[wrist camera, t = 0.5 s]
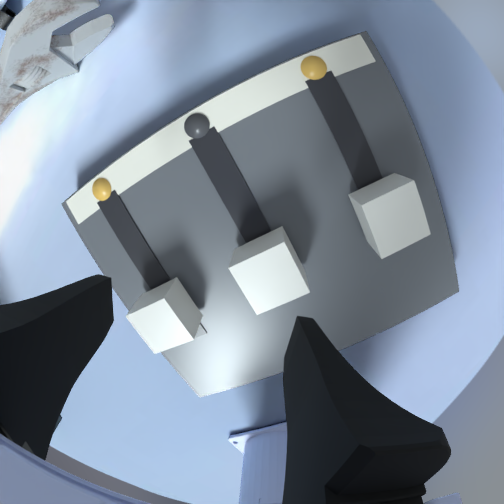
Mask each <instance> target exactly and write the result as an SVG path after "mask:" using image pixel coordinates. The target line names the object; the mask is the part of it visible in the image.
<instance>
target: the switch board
mask: <svg viewBox="0 0 504 504" xmlns="http://www.w3.org/2000/svg"><path fill="white" fill-rule="evenodd" d="M393 173H396V174H399V175H402V176H404V177H407V178H410V179H412V180H414V181H415V184H416V187H417V190H418V193H419V196H420V199H421V202H422V205H423V209H424V212H425V215H426V219H427V222H428V226H429V230H430V233H431V234H430V235H428V236H427V237H425V238H423V239H421V240H419V241H417V242H415V243H413V244H411V245H409V246H407V247H405V248H403V249H401V250H399V251H397V252H395V253H393V254H391V255H389V256H387V257H385V258H383V259H381V258H380V256H379V255H378V254H377V253H376V252H375V250H374V249H373V248H372V247H371V246H370V244H369V243H368V242H367V240H366V237H365V235H364V232H363V229H362V227H361V224H360V222H359V219H358V217H357V215H356V212H355V210H354V207H353V205H352V203H351V200H350V198H349V196H348V194H351V193H353V192H355V191H357V190H359V189H361V188H363V187H365V186H368V185H370V184H372V183H374V182H376V181H378V180H380V179H382V178H385V177H387V176H389V175H391V174H393ZM62 206H63V208H64V210H65V211H66V213H67V215H68V217H69V219H70V220H71V222H72V224H73V226H74V227H75V229H76V231H77V232H78V234H79V236H80V238H81V239H82V241H83V243H84V244H85V246H86V247H87V249H88V251H89V252H90V254H91V256H92V257H93V259H94V260H95V262H96V263H97V265H98V267H99V268H100V270H101V271H102V273H103V274H104V276H107V277H111V279H112V288H113V289H114V291H115V292H116V293H117V295H118V296H119V298H120V299H121V301H122V302H123V303H124V305H125V306H126V308H127V309H128V310H129V311H130V309H131V308H132V307H133V305H134V304H135V302H136V301H137V300H138V298H139V297H140V296H141V295H142V294H144V293H146V292H148V291H150V290H152V289H154V288H156V287H158V286H160V285H162V284H164V283H166V282H168V281H170V280H172V279H174V278H176V277H177V278H178V279H179V281H180V282H181V284H182V285H183V287H184V288H185V290H186V291H187V293H188V294H189V296H190V297H191V299H192V300H193V302H194V303H195V305H196V306H197V308H198V309H199V311H200V312H201V313H202V315H203V316H202V319H201V322H200V324H199V327H198V330H197V333H196V336H195V339H194V340H192V341H190V342H187V343H184V344H181V345H179V346H176V347H173V348H170V349H168V350H165V351H162V352H161V353H162V354H163V356H164V357H165V358H166V359H167V361H168V362H169V363H170V364H171V365H172V367H173V368H174V369H175V370H176V371H177V372H178V374H179V375H180V376H181V377H182V378H183V379H184V380H185V382H186V383H187V384H188V385H189V386H190V387H191V388H192V390H193V391H194V392H195V393H196V394H197V395H198V396H199V397H204V396H207V395H211V394H215V393H218V392H222V391H225V390H229V389H232V388H236V387H239V386H242V385H246V384H249V383H252V382H255V381H258V380H261V379H264V378H267V377H270V376H273V375H276V374H279V373H282V372H283V368H284V356H285V353H286V350H287V346H288V343H289V340H290V337H291V334H292V331H293V327H294V324H295V321H296V317H297V316H303V317H309V318H313V319H314V320H315V321H316V323H317V324H318V325H319V327H320V328H321V329H322V331H323V332H324V333H325V335H326V336H327V337H328V339H329V340H330V341H331V343H332V344H333V345H334V346H335V348H336V349H337V350H338V351H340V350H342V349H344V348H347V347H349V346H351V345H354V344H356V343H358V342H361V341H363V340H365V339H367V338H370V337H372V336H374V335H376V334H378V333H380V332H383V331H385V330H387V329H389V328H391V327H393V326H395V325H397V324H399V323H401V322H403V321H405V320H407V319H409V318H411V317H413V316H415V315H417V314H419V313H421V312H423V311H425V310H427V309H428V308H430V307H432V306H434V305H436V304H438V303H439V302H441V301H443V300H445V299H447V298H448V297H450V296H452V295H454V294H455V293H457V292H459V287H458V280H457V274H456V268H455V263H454V257H453V252H452V248H451V243H450V238H449V234H448V230H447V226H446V221H445V218H444V214H443V210H442V206H441V203H440V199H439V196H438V192H437V189H436V186H435V182H434V179H433V176H432V173H431V170H430V167H429V164H428V161H427V158H426V155H425V153H424V150H423V147H422V145H421V142H420V139H419V137H418V134H417V132H416V129H415V127H414V124H413V122H412V119H411V117H410V115H409V112H408V110H407V108H406V106H405V103H404V101H403V99H402V97H401V95H400V93H399V91H398V88H397V86H396V84H395V82H394V80H393V78H392V76H391V74H390V72H389V70H388V69H387V67H386V65H385V63H384V61H383V59H382V57H381V56H380V54H379V52H378V50H377V48H376V47H375V45H374V43H373V42H372V40H371V38H370V37H369V35H368V33H367V32H366V31H365V32H361V33H358V34H355V35H352V36H349V37H346V38H343V39H340V40H337V41H335V42H332V43H329V44H326V45H324V46H321V47H318V48H316V49H313V50H311V51H308V52H306V53H303V54H301V55H298V56H296V57H293V58H291V59H289V60H286V61H284V62H282V63H280V64H277V65H275V66H273V67H271V68H269V69H266V70H264V71H262V72H260V73H258V74H256V75H254V76H252V77H250V78H248V79H246V80H244V81H242V82H240V83H238V84H236V85H234V86H232V87H230V88H228V89H226V90H224V91H223V92H221V93H219V94H217V95H215V96H213V97H212V98H210V99H208V100H206V101H205V102H203V103H201V104H199V105H198V106H196V107H194V108H193V109H191V110H189V111H188V112H186V113H184V114H183V115H181V116H179V117H178V118H176V119H174V120H173V121H171V122H170V123H168V124H167V125H165V126H163V127H162V128H160V129H159V130H157V131H156V132H154V133H153V134H151V135H150V136H148V137H147V138H145V139H144V140H142V141H141V142H140V143H138V144H137V145H135V146H134V147H132V148H131V149H130V150H128V151H127V152H126V153H124V154H123V155H121V156H120V157H119V158H117V159H116V160H115V161H113V162H112V163H111V164H109V165H108V166H107V167H105V168H104V169H103V170H102V171H100V172H99V173H98V174H96V175H95V176H94V177H93V178H91V179H90V180H89V181H88V182H87V183H85V184H84V185H83V186H82V187H81V188H79V189H78V190H77V191H76V192H75V193H73V194H72V195H71V196H70V197H69V198H68V199H66V200H65V201H64V202H63V203H62ZM281 226H283V228H284V230H285V232H286V234H287V236H288V238H289V240H290V242H291V244H292V246H293V248H294V250H295V252H296V254H297V256H298V258H299V260H300V262H301V264H302V266H303V268H304V270H305V273H306V277H307V282H308V286H309V290H310V293H308V294H306V295H303V296H301V297H299V298H296V299H294V300H292V301H290V302H287V303H285V304H282V305H280V306H278V307H275V308H273V309H271V310H268V311H266V312H263V313H261V314H259V315H257V314H256V313H255V311H254V310H253V308H252V306H251V305H250V303H249V301H248V300H247V298H246V297H245V295H244V293H243V292H242V290H241V288H240V287H239V285H238V283H237V282H236V280H235V279H234V277H233V275H232V274H231V272H230V270H229V269H228V268H229V264H230V261H231V258H232V255H233V251H234V249H236V248H238V247H240V246H242V245H244V244H246V243H248V242H250V241H252V240H254V239H256V238H258V237H260V236H263V235H265V234H267V233H269V232H271V231H273V230H275V229H277V228H279V227H281Z"/></svg>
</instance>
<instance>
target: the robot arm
mask: <svg viewBox="0 0 504 504" xmlns="http://www.w3.org/2000/svg"><path fill="white" fill-rule="evenodd" d="M113 321H114V317H113V301H112V279H111V277H107V276H103V275H99V274H98V275H94V276H91V277H88V278H85V279H82V280H80V281H77V282H75V283H72V284H69V285H67V286H64V287H62V288H59V289H57V290H54V291H51V292H48V293H45V294H42V295H40V296H37V297H34V298H30V299H27V300H23V301H19V302H15V303H11V304H5V305H0V504H151V503H148V502H144V501H141V500H138V499H135V498H131V497H128V496H125V495H122V494H119V493H117V492H114V491H111V490H108V489H106V488H103V487H101V486H98V485H96V484H93V483H91V482H88V481H86V480H84V479H82V478H79V477H77V476H75V475H73V474H70V473H68V472H66V471H64V470H62V469H60V468H58V467H56V466H54V465H52V464H50V463H48V462H46V461H45V459H46V455H47V452H48V447H49V444H50V441H51V438H52V435H53V432H54V429H55V426H56V423H57V421H58V418H59V416H60V413H61V411H62V409H63V406H64V404H65V402H66V400H67V397H68V395H69V393H70V391H71V389H72V387H73V385H74V384H75V382H76V380H77V378H78V377H79V375H80V374H81V372H82V371H83V370H84V368H85V367H86V365H87V364H88V362H89V361H90V359H91V358H92V357H93V355H94V354H95V352H96V351H97V349H98V348H99V346H100V345H101V344H102V342H103V341H104V339H105V337H106V335H107V333H108V331H109V329H110V327H111V325H112V323H113ZM283 386H284V398H285V409H286V421H287V422H283V423H280V424H276V425H273V426H269V427H265V428H261V429H257V430H253V431H249V432H244V433H240V434H235V435H231V436H229V438H228V440H229V441H230V442H231V443H232V444H233V445H234V446H235V447H236V448H237V449H238V450H239V451H241V452H242V453H243V454H244V457H243V467H242V477H241V487H240V497H239V504H423V501H422V497H421V496H423V495H424V494H426V489H425V485H424V483H425V482H426V481H428V480H429V479H430V478H431V477H432V476H433V475H434V474H436V473H437V472H438V471H439V470H440V469H441V468H442V467H443V466H444V465H445V464H446V462H447V461H448V459H449V457H450V455H451V449H450V446H449V444H448V441H447V439H446V437H445V434H444V432H443V430H442V428H440V427H438V426H436V425H434V424H432V423H430V422H427V421H425V420H423V419H421V418H419V417H417V416H415V415H413V414H412V413H410V412H408V411H407V410H405V409H403V408H402V407H400V406H398V405H397V404H395V403H394V402H392V401H391V400H390V399H388V398H387V397H386V396H384V395H383V394H382V393H380V392H379V391H378V390H376V389H375V388H374V387H373V386H372V385H370V384H369V383H368V382H367V381H366V380H365V379H364V378H363V377H362V376H361V375H360V374H359V373H358V372H357V371H356V370H355V369H354V368H353V367H352V366H351V365H350V364H349V363H348V362H347V361H346V360H345V359H344V357H343V356H342V355H341V354H340V353H339V351H338V350H337V349H336V348H335V346H334V345H333V344H332V343H331V341H330V340H329V339H328V337H327V336H326V335H325V333H324V332H323V331H322V329H321V328H320V327H319V325H318V324H317V323H316V321H315V320H314V319H313V318H309V317H303V316H297V317H296V321H295V324H294V327H293V331H292V334H291V337H290V340H289V343H288V346H287V350H286V353H285V356H284V368H283ZM424 504H462V500H461V498H460V494H459V493H453V494H450V495H447V496H443V497H439V498H436V499H432V500H430V501H428V502H425V503H424Z"/></svg>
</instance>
